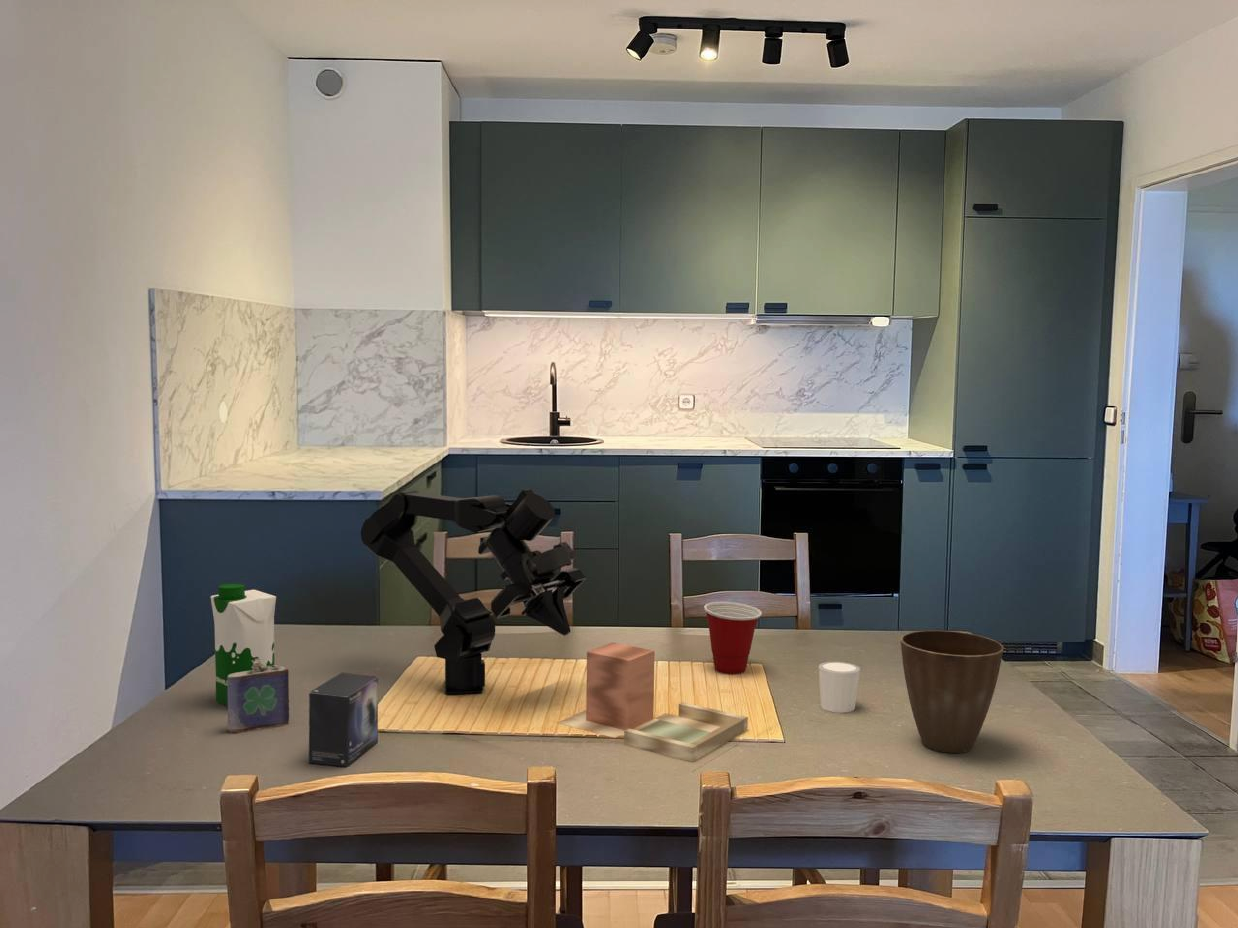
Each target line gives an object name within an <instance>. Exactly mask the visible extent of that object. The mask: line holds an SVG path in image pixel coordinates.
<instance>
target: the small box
mask: <svg viewBox="0 0 1238 928" xmlns="http://www.w3.org/2000/svg"><path fill="white" fill-rule="evenodd" d="M308 727H309V728H308V762H307V763H310V764H319V765H320V764H321V765H329V766H337V767H349V765H351V764H352V763H354V762H355V761H356V760H357V759H359V758H360V757H362V755H364V754H365V753H366V752H368V751H369V750H370V749H372V748H373V746H375V745H376V744H378V742H379V677H378V676H375V675H366V674H357V673H350V672H340V673H339V674H337V675H335V676H334V677H332V678H331V679H329V680H327V681H325V682H324V683H322V684H320V685H318V686H317V687H315V688H314V689H312V690H311V691H309V692H308Z"/></svg>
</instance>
